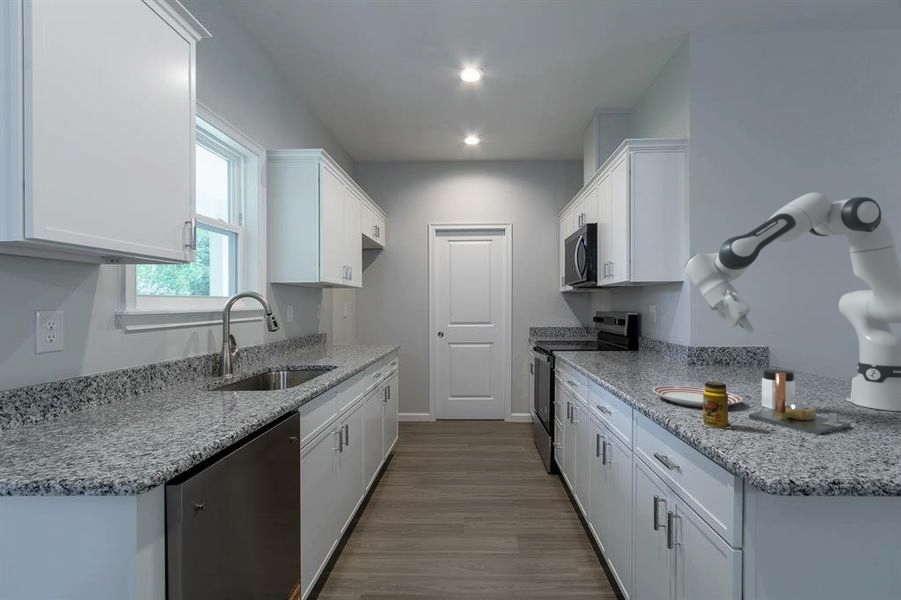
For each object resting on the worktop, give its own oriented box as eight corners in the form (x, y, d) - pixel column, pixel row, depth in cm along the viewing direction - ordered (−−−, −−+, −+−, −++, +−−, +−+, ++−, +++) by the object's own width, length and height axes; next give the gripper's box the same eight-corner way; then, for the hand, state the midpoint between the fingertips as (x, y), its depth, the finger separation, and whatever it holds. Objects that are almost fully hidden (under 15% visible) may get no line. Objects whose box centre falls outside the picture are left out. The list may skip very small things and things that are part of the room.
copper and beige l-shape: (790, 411, 137) (790, 368, 137) (818, 417, 130) (818, 372, 130) (763, 416, 131) (763, 371, 131) (792, 423, 124) (792, 375, 124)
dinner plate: (727, 396, 166) (727, 387, 166) (755, 414, 140) (755, 404, 140) (647, 391, 174) (647, 383, 174) (659, 408, 148) (659, 398, 148)
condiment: (701, 426, 126) (702, 384, 126) (700, 419, 134) (700, 379, 133) (732, 430, 123) (732, 386, 123) (729, 422, 130) (729, 381, 130)
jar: (787, 412, 142) (787, 374, 142) (758, 406, 149) (758, 370, 149) (798, 408, 147) (798, 371, 147) (770, 403, 154) (770, 368, 154)
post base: (779, 412, 142) (780, 396, 142) (850, 427, 126) (851, 409, 126) (747, 418, 135) (747, 401, 135) (818, 435, 118) (818, 416, 118)
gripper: (735, 282, 138) (767, 319, 132) (727, 299, 156) (754, 332, 150) (716, 293, 139) (747, 330, 133) (709, 308, 157) (736, 342, 151)
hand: (751, 332), depth 142 cm, fingers closed
